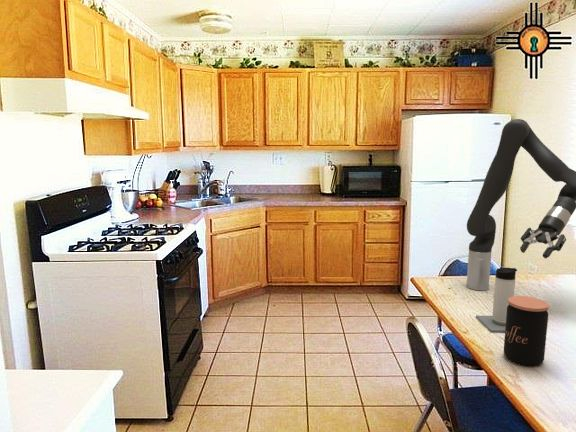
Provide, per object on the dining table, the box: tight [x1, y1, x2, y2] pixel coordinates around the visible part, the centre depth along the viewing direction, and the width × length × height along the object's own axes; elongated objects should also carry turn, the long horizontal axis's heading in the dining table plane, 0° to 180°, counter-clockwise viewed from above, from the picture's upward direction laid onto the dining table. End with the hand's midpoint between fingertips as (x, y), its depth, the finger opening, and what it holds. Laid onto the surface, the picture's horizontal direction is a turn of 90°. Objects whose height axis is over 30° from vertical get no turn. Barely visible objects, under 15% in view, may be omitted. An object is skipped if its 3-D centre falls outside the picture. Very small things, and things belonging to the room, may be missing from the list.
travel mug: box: [492, 267, 518, 326], centre depth 152 cm, size 6×7×20 cm
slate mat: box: [475, 315, 506, 334], centre depth 153 cm, size 13×13×1 cm
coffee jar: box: [503, 295, 550, 368], centre depth 127 cm, size 11×11×18 cm
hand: (532, 254), depth 159 cm, fingers open, 8 cm apart
